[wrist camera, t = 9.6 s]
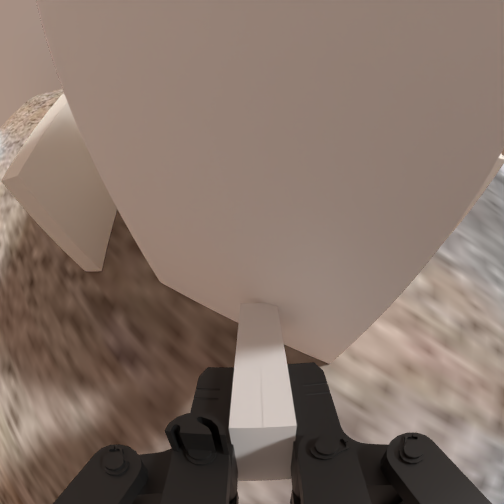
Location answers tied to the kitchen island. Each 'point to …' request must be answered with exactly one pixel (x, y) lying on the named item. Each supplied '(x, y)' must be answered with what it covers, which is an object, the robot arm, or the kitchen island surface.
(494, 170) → the cubby
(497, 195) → the kitchen island surface
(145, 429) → the kitchen island surface
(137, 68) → the milk
